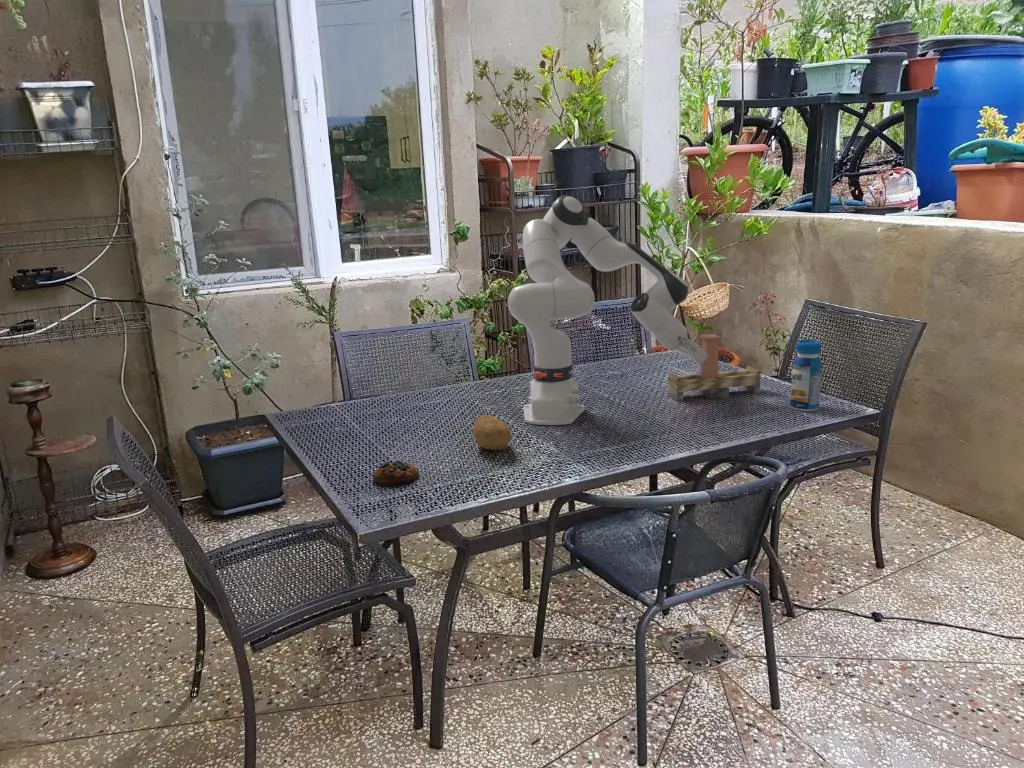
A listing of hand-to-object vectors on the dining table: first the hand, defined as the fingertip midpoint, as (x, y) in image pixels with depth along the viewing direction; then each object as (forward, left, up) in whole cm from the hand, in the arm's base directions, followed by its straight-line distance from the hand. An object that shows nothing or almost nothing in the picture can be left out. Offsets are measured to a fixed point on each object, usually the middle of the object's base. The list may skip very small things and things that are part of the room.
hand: (701, 363), depth 234 cm
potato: (-53, +57, -11) cm, 78 cm away
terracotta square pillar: (+1, -3, -5) cm, 6 cm away
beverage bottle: (-12, -29, -11) cm, 33 cm away
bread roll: (-74, +76, -11) cm, 107 cm away
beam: (+1, -4, -11) cm, 11 cm away
